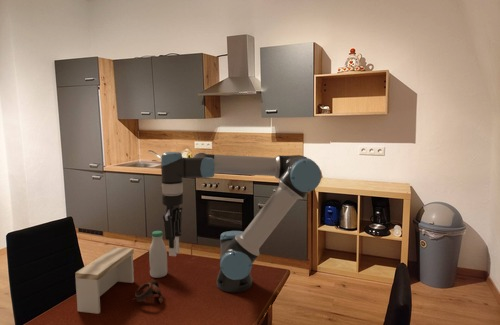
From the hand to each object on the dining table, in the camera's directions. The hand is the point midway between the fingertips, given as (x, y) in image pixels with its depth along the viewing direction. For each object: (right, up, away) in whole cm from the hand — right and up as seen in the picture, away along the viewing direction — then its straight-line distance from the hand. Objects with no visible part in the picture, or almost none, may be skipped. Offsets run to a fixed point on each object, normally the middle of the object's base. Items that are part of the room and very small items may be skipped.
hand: (174, 254), depth 142 cm
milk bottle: (-13, -16, +27) cm, 34 cm away
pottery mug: (-10, -19, +4) cm, 22 cm away
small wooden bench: (-27, -19, +8) cm, 34 cm away
